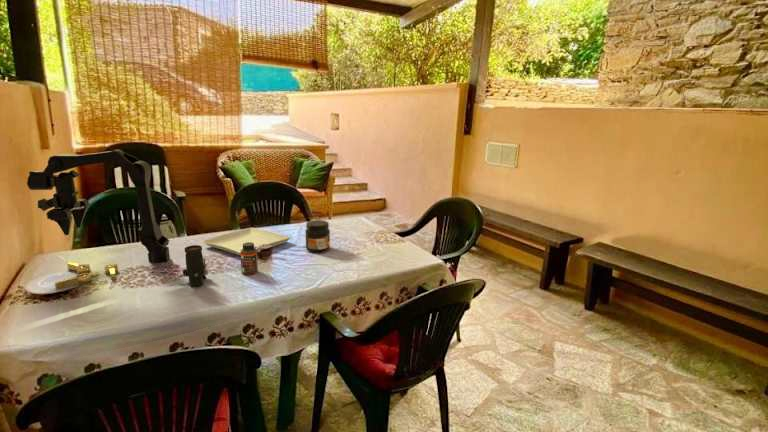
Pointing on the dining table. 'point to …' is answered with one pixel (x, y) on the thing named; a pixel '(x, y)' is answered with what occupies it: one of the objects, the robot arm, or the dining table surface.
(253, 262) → the supplement bottle
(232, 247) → the square plate
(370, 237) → the dining table surface
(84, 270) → the knob front
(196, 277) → the scope
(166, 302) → the dining table surface
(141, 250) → the dining table surface
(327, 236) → the supplement container
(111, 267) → the knob near
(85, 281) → the knob left
